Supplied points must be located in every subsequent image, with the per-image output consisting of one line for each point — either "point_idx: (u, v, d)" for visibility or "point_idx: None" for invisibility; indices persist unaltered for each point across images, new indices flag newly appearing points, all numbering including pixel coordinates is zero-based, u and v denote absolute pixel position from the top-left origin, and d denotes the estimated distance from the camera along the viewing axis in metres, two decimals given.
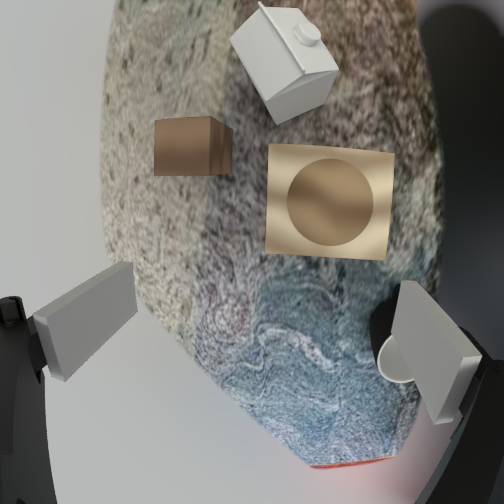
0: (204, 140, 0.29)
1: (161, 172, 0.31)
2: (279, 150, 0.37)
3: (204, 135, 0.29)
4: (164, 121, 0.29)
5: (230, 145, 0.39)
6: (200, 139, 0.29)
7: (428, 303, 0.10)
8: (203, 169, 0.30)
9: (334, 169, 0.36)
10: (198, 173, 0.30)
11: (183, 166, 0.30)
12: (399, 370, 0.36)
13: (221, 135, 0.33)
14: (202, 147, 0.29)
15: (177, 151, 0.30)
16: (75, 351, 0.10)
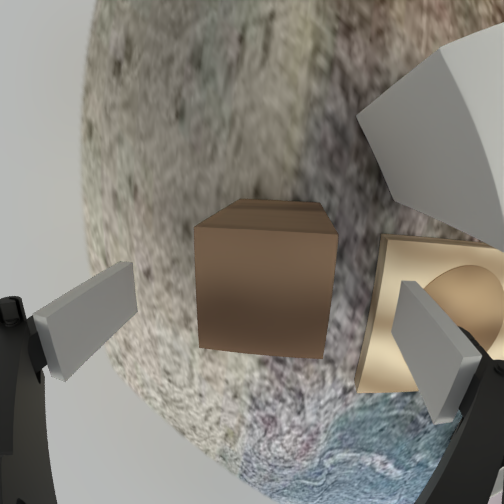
0: (320, 290, 0.13)
1: (215, 343, 0.15)
2: (403, 252, 0.21)
3: (321, 279, 0.13)
4: (218, 234, 0.13)
5: None
6: (310, 287, 0.13)
7: (428, 303, 0.10)
8: (312, 348, 0.14)
9: (472, 281, 0.20)
10: (300, 354, 0.14)
11: (268, 339, 0.14)
12: None
13: None
14: (314, 305, 0.13)
15: (252, 307, 0.14)
16: (75, 351, 0.10)
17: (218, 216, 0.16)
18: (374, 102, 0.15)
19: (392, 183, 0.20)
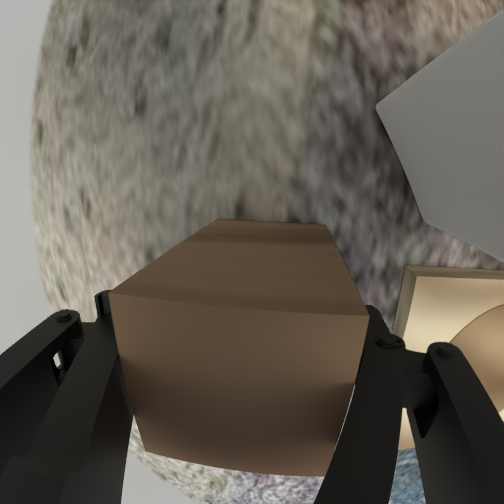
0: (328, 402, 0.07)
1: (167, 451, 0.08)
2: (435, 292, 0.15)
3: (331, 387, 0.07)
4: (147, 308, 0.07)
5: None
6: (312, 398, 0.07)
7: None
8: (310, 466, 0.08)
9: None
10: (292, 472, 0.08)
11: (242, 455, 0.08)
12: None
13: None
14: (317, 420, 0.07)
15: (215, 419, 0.07)
16: None
17: (165, 261, 0.10)
18: (411, 80, 0.09)
19: (425, 199, 0.14)
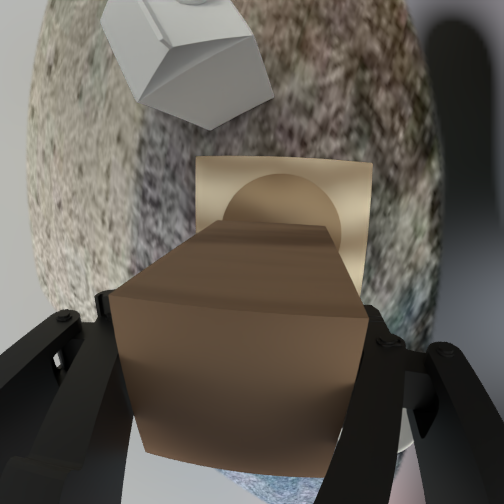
0: (328, 403, 0.07)
1: (167, 452, 0.08)
2: (209, 165, 0.28)
3: (330, 389, 0.07)
4: (147, 310, 0.07)
5: None
6: (312, 400, 0.07)
7: None
8: (310, 467, 0.08)
9: (284, 188, 0.27)
10: (292, 473, 0.08)
11: (242, 457, 0.08)
12: None
13: None
14: (316, 422, 0.07)
15: (215, 420, 0.08)
16: None
17: (165, 263, 0.10)
18: None
19: None
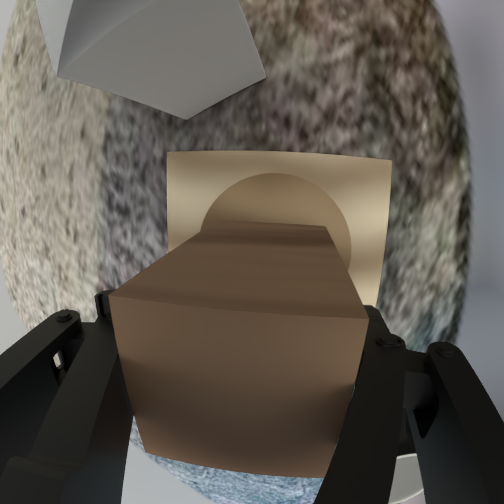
0: (328, 404, 0.07)
1: (167, 452, 0.08)
2: (183, 163, 0.21)
3: (331, 389, 0.07)
4: (147, 310, 0.07)
5: None
6: (312, 400, 0.07)
7: None
8: (310, 468, 0.08)
9: (278, 192, 0.21)
10: (292, 473, 0.08)
11: (241, 457, 0.08)
12: None
13: None
14: (316, 422, 0.07)
15: (215, 421, 0.08)
16: None
17: (165, 263, 0.10)
18: None
19: None
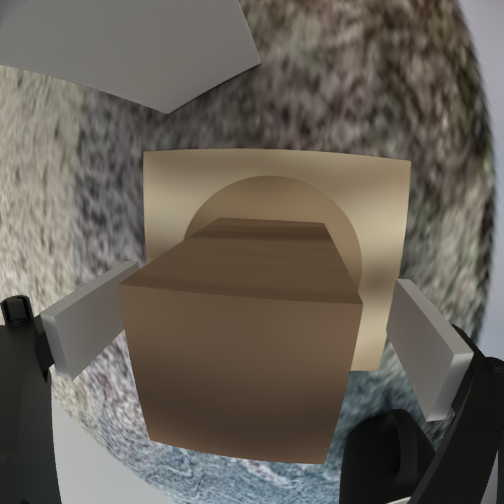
0: (326, 388, 0.07)
1: (171, 439, 0.09)
2: (162, 164, 0.18)
3: (328, 373, 0.07)
4: (155, 298, 0.07)
5: None
6: (311, 384, 0.07)
7: (421, 301, 0.11)
8: (309, 453, 0.08)
9: (275, 199, 0.17)
10: (292, 459, 0.08)
11: (243, 442, 0.08)
12: None
13: None
14: (315, 406, 0.08)
15: (218, 406, 0.08)
16: (82, 350, 0.10)
17: (170, 256, 0.10)
18: None
19: None
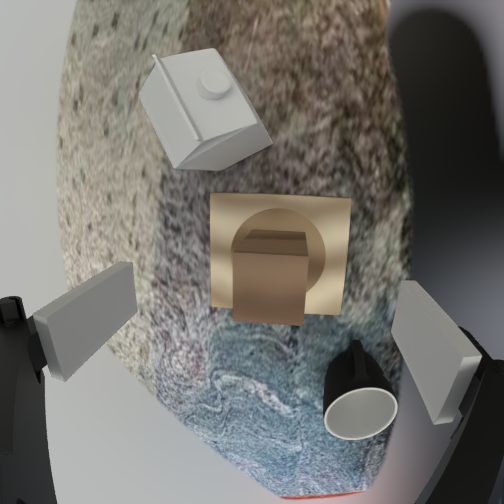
0: (299, 286, 0.25)
1: (242, 317, 0.26)
2: (221, 200, 0.35)
3: (300, 280, 0.25)
4: (245, 256, 0.25)
5: None
6: (294, 284, 0.25)
7: (428, 303, 0.10)
8: (296, 318, 0.25)
9: (280, 220, 0.35)
10: (290, 322, 0.26)
11: (272, 314, 0.26)
12: (353, 425, 0.34)
13: None
14: (297, 294, 0.25)
15: (263, 295, 0.25)
16: (75, 351, 0.10)
17: (243, 245, 0.28)
18: None
19: None
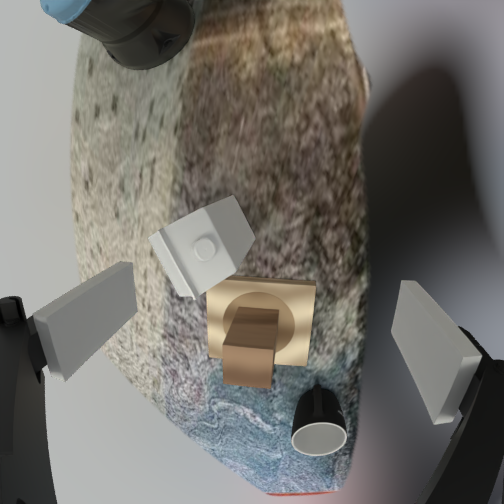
0: (267, 366, 0.35)
1: (229, 382, 0.37)
2: None
3: (267, 363, 0.35)
4: (231, 347, 0.35)
5: None
6: (264, 365, 0.35)
7: (428, 303, 0.10)
8: (266, 384, 0.36)
9: (260, 300, 0.45)
10: (262, 386, 0.36)
11: (249, 381, 0.36)
12: (316, 444, 0.45)
13: (275, 339, 0.40)
14: (265, 370, 0.36)
15: (243, 370, 0.36)
16: (75, 351, 0.10)
17: (230, 333, 0.38)
18: None
19: None
